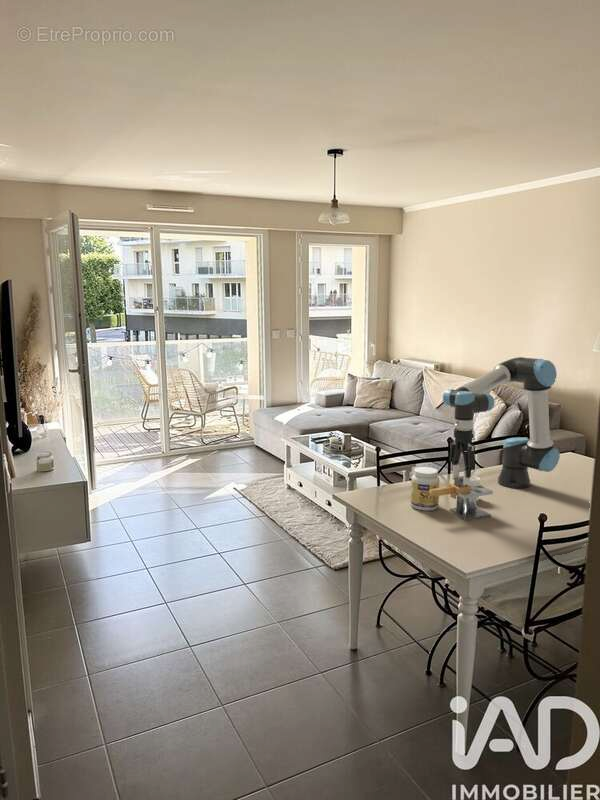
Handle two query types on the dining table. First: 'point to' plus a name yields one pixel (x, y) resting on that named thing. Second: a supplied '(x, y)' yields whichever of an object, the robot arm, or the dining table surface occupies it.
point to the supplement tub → (424, 488)
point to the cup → (475, 480)
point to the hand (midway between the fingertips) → (460, 481)
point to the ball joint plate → (473, 502)
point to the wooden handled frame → (449, 490)
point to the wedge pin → (460, 501)
